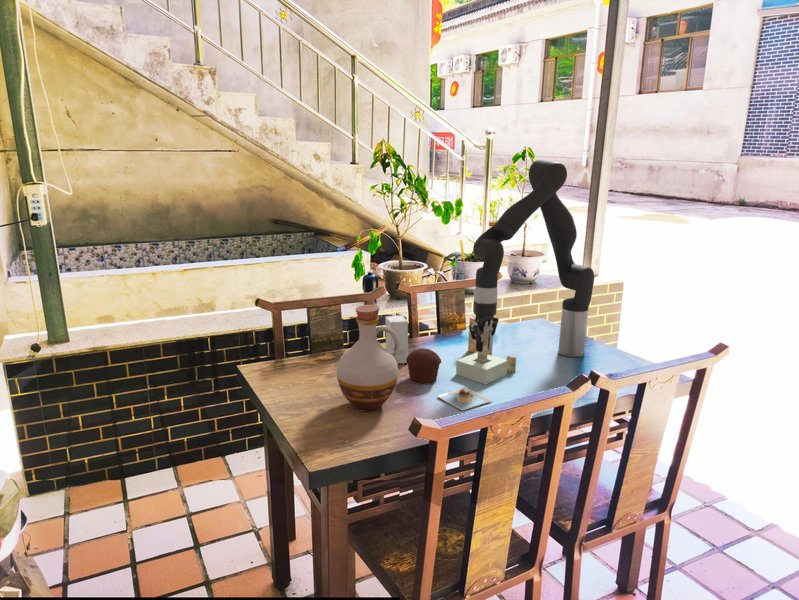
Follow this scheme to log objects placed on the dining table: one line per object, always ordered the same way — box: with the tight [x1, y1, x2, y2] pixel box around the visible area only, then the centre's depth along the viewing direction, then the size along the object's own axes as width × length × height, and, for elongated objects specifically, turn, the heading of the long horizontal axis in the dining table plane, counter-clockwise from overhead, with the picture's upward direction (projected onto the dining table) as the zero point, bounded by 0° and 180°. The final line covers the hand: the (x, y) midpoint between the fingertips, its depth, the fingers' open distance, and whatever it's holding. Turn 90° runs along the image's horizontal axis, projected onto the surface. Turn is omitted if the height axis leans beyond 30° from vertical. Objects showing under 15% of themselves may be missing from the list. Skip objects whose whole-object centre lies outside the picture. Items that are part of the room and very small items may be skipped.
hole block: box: [455, 352, 507, 385], centre depth 201 cm, size 12×12×5 cm
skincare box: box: [384, 314, 409, 365], centre depth 211 cm, size 8×7×16 cm
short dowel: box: [506, 354, 517, 373], centre depth 205 cm, size 3×3×5 cm
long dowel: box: [477, 326, 489, 362], centre depth 198 cm, size 3×3×12 cm
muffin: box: [406, 348, 442, 386], centre depth 196 cm, size 12×11×10 cm
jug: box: [336, 304, 399, 412], centre depth 173 cm, size 20×18×30 cm
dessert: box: [436, 386, 493, 411], centre depth 181 cm, size 12×12×5 cm
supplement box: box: [467, 315, 494, 356], centre depth 220 cm, size 8×5×13 cm, turn 41°
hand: (482, 349), depth 199 cm, fingers closed on long dowel, 3 cm apart
